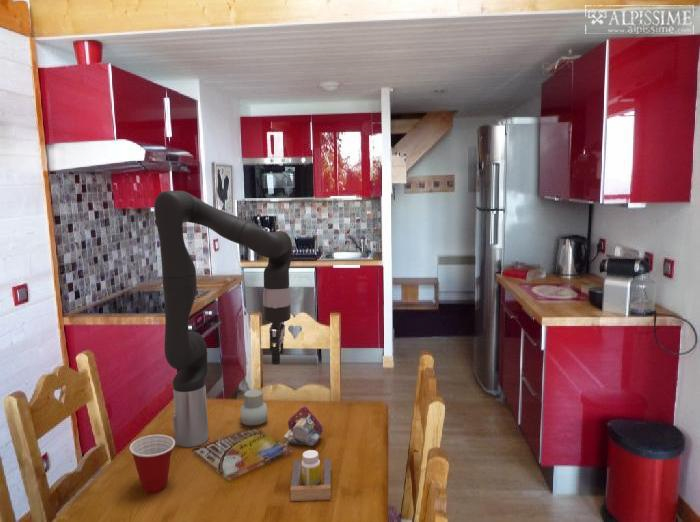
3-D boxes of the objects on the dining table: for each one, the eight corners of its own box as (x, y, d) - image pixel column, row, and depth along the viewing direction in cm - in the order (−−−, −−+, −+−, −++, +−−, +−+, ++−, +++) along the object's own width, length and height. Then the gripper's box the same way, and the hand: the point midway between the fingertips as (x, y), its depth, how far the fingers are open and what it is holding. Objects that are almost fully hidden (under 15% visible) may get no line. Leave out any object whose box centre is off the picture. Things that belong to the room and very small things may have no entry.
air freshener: (268, 427, 159) (267, 398, 158) (241, 431, 157) (240, 400, 156) (266, 413, 170) (264, 385, 168) (241, 416, 168) (239, 387, 166)
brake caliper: (330, 425, 155) (321, 405, 147) (321, 459, 148) (311, 441, 139) (297, 420, 158) (286, 401, 150) (286, 454, 151) (274, 436, 143)
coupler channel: (290, 501, 121) (290, 490, 121) (294, 470, 134) (294, 460, 134) (330, 499, 121) (330, 488, 121) (330, 468, 135) (330, 458, 134)
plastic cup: (172, 497, 123) (169, 452, 122) (127, 501, 122) (123, 455, 120) (182, 473, 134) (179, 431, 132) (140, 476, 133) (136, 434, 131)
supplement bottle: (323, 481, 129) (322, 450, 128) (316, 491, 125) (315, 460, 124) (306, 477, 131) (305, 447, 130) (299, 488, 126) (297, 457, 125)
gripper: (266, 297, 146) (267, 350, 149) (259, 309, 132) (260, 367, 134) (292, 297, 146) (293, 350, 149) (287, 309, 132) (288, 367, 135)
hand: (277, 358), depth 142 cm, fingers open, 8 cm apart
